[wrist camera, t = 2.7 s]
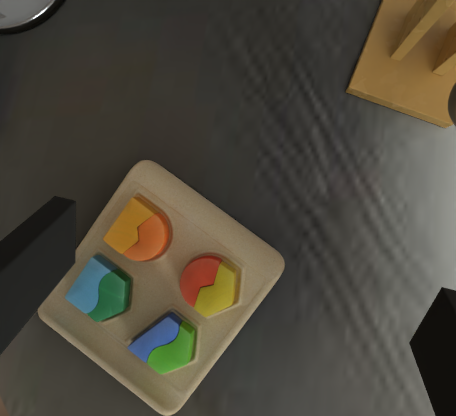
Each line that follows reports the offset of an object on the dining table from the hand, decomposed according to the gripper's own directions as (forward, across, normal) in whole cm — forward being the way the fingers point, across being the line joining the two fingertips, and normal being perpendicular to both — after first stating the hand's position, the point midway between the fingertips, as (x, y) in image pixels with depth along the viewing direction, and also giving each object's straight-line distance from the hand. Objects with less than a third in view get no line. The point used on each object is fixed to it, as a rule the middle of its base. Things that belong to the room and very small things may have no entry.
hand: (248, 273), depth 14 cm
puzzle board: (+19, -7, -18) cm, 27 cm away
